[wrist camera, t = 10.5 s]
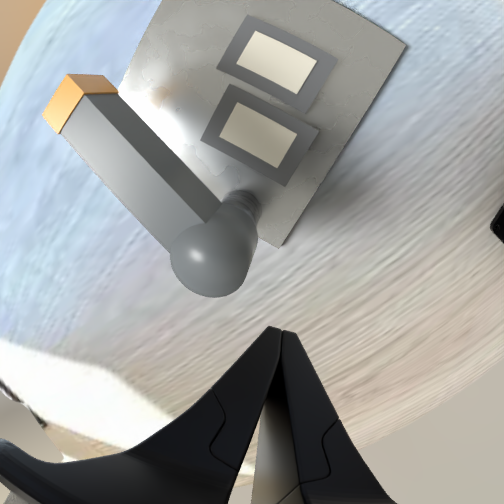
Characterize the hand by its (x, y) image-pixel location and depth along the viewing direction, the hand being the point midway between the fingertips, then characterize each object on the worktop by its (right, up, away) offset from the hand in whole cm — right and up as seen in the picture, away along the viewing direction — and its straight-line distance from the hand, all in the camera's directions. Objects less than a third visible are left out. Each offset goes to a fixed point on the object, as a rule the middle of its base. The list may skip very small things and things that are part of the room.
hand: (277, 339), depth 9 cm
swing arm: (-5, +7, +7) cm, 11 cm away
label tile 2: (0, +10, +10) cm, 14 cm away
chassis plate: (-2, +13, +9) cm, 16 cm away
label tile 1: (+1, +14, +7) cm, 16 cm away
